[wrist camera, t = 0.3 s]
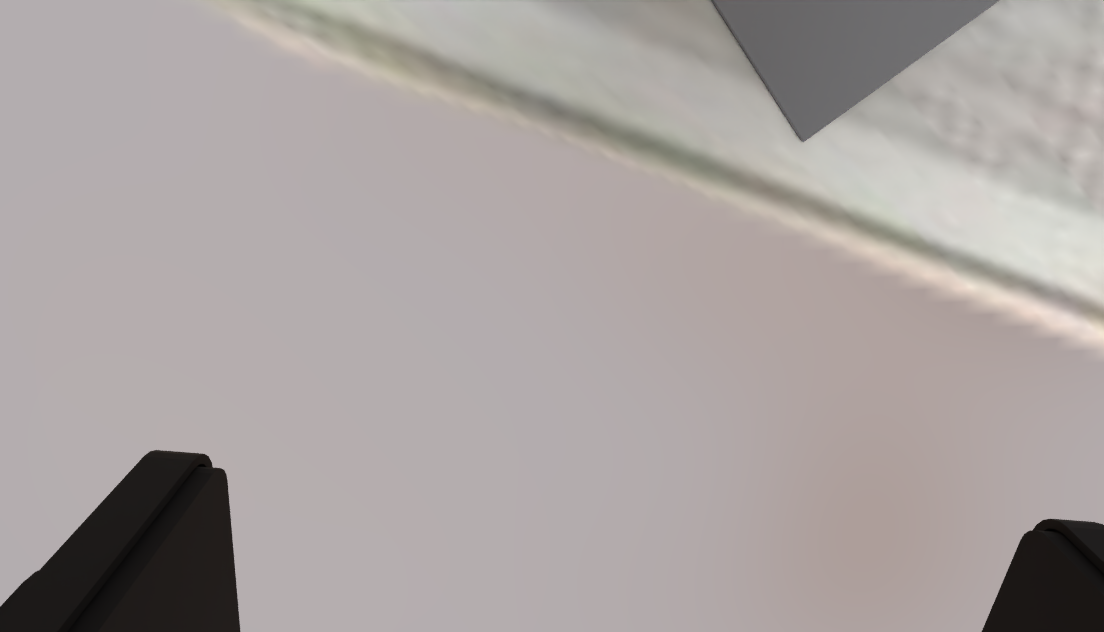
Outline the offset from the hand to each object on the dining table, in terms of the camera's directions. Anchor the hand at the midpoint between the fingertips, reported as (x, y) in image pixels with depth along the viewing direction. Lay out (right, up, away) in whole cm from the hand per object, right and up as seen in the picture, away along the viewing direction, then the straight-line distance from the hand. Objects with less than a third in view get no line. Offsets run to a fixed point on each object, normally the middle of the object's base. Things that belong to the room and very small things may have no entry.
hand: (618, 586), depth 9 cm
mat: (+13, +19, +25) cm, 34 cm away
